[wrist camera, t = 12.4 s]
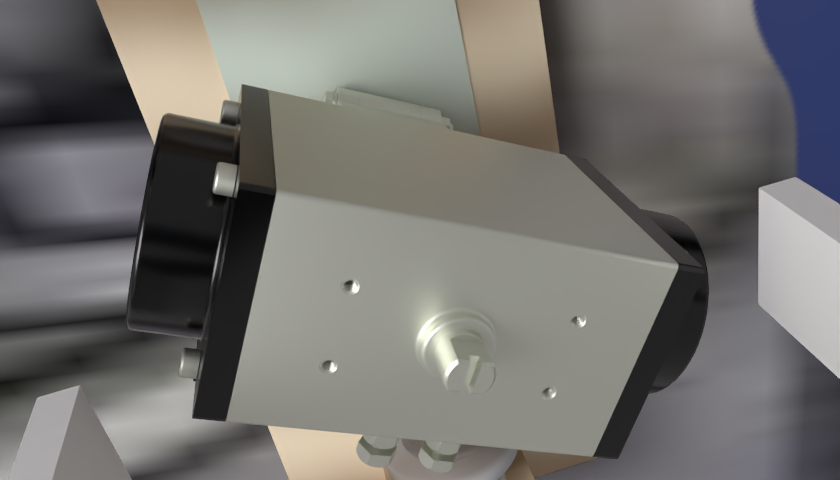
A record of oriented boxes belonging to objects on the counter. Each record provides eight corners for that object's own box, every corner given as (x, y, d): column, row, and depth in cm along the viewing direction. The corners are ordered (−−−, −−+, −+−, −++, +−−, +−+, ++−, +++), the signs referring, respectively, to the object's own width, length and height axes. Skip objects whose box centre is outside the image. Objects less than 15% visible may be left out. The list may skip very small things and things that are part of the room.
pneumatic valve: (189, 26, 22) (133, 195, 11) (568, 116, 25) (804, 310, 14) (160, 208, 24) (89, 495, 13) (513, 267, 27) (683, 534, 16)
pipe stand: (-39, -372, 18) (-201, -498, 12) (454, -479, 19) (563, -652, 13) (313, 518, 32) (330, 688, 26) (587, 432, 33) (671, 576, 27)
